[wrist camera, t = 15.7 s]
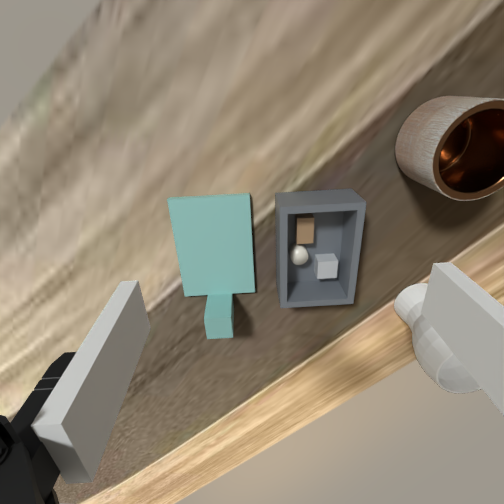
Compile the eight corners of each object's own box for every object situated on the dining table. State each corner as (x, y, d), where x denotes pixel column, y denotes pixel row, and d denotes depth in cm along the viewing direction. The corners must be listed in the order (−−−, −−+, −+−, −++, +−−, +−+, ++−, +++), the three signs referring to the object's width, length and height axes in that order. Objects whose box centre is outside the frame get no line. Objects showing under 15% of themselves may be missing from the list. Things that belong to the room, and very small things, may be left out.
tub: (275, 193, 45) (279, 207, 39) (351, 188, 45) (366, 202, 39) (276, 285, 52) (280, 308, 47) (341, 281, 52) (353, 303, 47)
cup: (419, 331, 58) (473, 404, 44) (373, 313, 55) (415, 384, 42) (460, 288, 53) (532, 354, 40) (411, 266, 51) (471, 329, 38)
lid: (168, 197, 44) (157, 214, 38) (249, 192, 45) (250, 209, 38) (189, 311, 54) (182, 340, 48) (255, 307, 54) (257, 336, 48)
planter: (492, 113, 41) (558, 120, 32) (442, 190, 45) (489, 214, 37) (422, 81, 39) (473, 79, 30) (377, 165, 43) (411, 184, 35)
